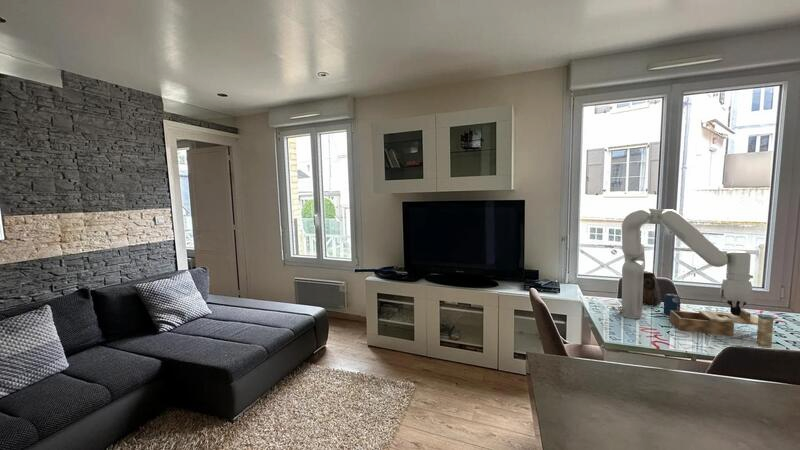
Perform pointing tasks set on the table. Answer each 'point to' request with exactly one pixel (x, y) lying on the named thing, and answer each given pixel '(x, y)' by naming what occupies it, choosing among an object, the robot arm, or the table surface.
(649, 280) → the owl
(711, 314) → the lid
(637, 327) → the table surface
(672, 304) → the soda can
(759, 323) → the block
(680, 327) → the wooden box with slot
